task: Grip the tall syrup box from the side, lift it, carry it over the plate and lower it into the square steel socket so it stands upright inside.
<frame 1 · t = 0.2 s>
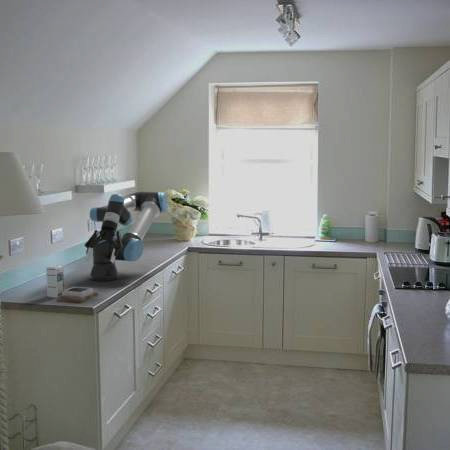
hand: (99, 261, 312), 15 cm above the countertop, tool tilted 35°, fingers open, 13 cm apart
syrup box: (55, 296, 304), on the countertop
carrier plate: (77, 298, 300), on the countertop
socket collar: (77, 292, 300), on the carrier plate, point 2 cm above the countertop
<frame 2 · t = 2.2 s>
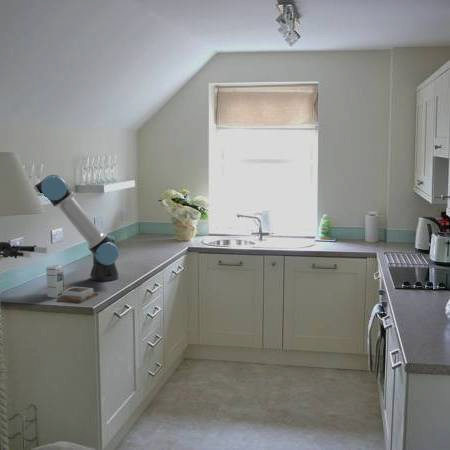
hand: (38, 252, 304), 21 cm above the countertop, tool horizontal, fingers open, 13 cm apart
nothing on the countertop moved.
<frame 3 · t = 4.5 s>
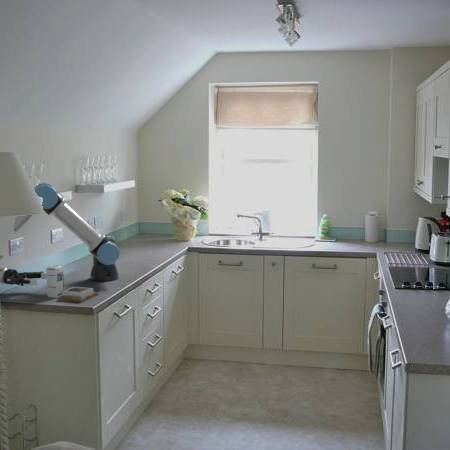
hand: (44, 279, 304), 8 cm above the countertop, tool horizontal, fingers open, 13 cm apart
nothing on the countertop moved.
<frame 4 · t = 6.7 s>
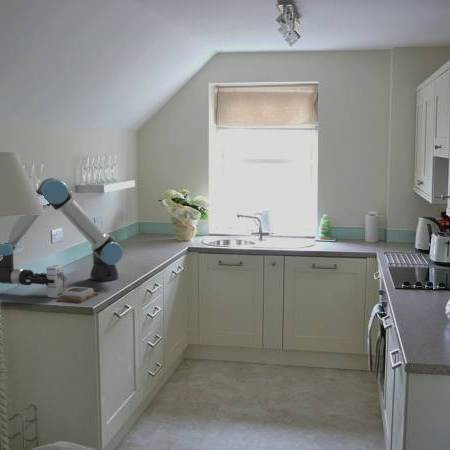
hand: (64, 280, 302), 8 cm above the countertop, tool horizontal, fingers closed on syrup box, 6 cm apart
syrup box: (55, 296, 304), on the countertop, touching gripper
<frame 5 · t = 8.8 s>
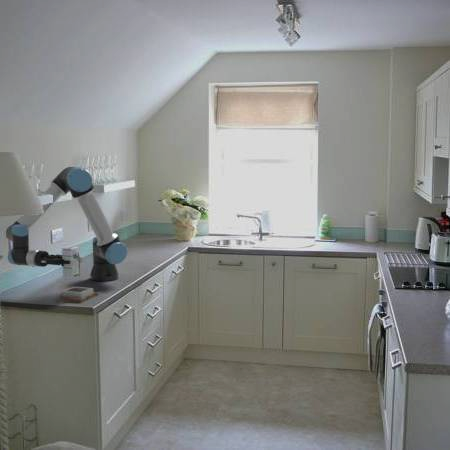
hand: (80, 261, 297), 18 cm above the countertop, tool horizontal, fingers closed on syrup box, 6 cm apart
syrup box: (71, 277, 300), point 10 cm above the countertop, touching gripper
when the fingers open (11 cm above the countertop, at t = 11.0 s): syrup box drops 1 cm, resting on carrier plate.
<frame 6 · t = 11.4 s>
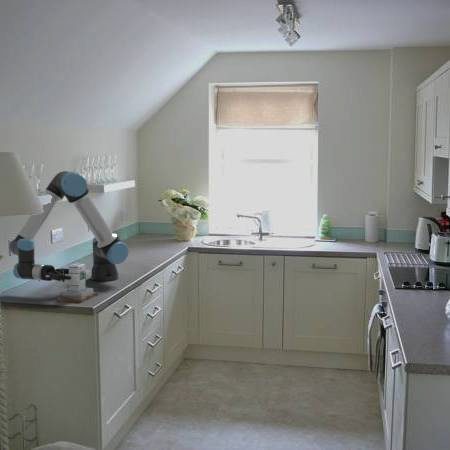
hand: (84, 275, 298), 11 cm above the countertop, tool horizontal, fingers open, 11 cm apart
syrup box: (77, 295, 300), point 1 cm above the countertop, touching carrier plate
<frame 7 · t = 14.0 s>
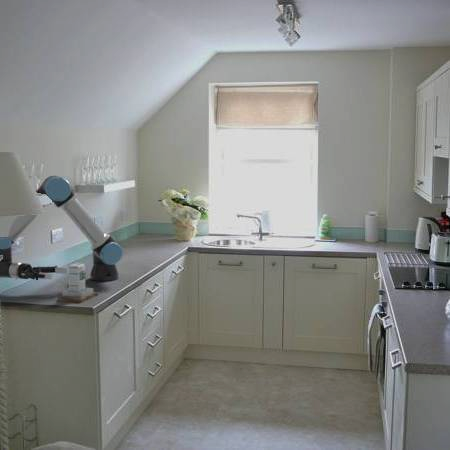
hand: (59, 273, 302), 11 cm above the countertop, tool horizontal, fingers open, 13 cm apart
nothing on the countertop moved.
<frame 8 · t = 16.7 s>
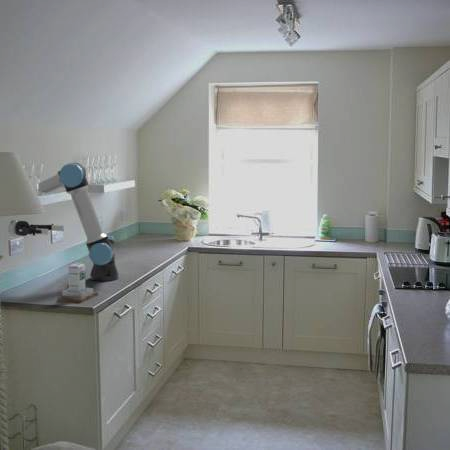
hand: (55, 230, 314), 30 cm above the countertop, tool horizontal, fingers open, 13 cm apart
nothing on the countertop moved.
at the end: syrup box 0.1 cm off-centre on the carrier plate, point 1.3 cm above the carrier plate's base; syrup box tilted 0°; the gripper is holding nothing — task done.
